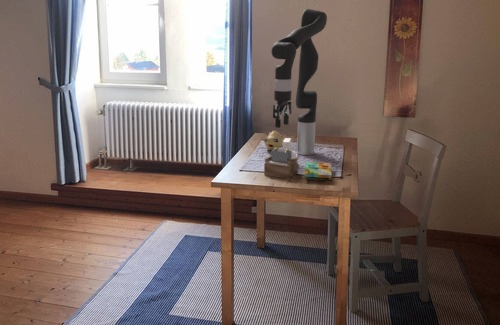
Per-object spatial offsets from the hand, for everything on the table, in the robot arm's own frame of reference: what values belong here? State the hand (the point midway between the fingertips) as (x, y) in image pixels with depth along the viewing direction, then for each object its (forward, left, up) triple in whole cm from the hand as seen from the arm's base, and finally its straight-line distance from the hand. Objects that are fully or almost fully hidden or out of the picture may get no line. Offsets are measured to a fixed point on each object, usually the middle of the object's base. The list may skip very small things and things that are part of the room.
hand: (282, 126), depth 214 cm
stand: (0, 0, -22) cm, 22 cm away
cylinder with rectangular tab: (-17, -5, -22) cm, 28 cm away
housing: (0, 0, -16) cm, 16 cm away
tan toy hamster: (-39, -23, -22) cm, 50 cm away
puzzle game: (-5, +16, -23) cm, 28 cm away
